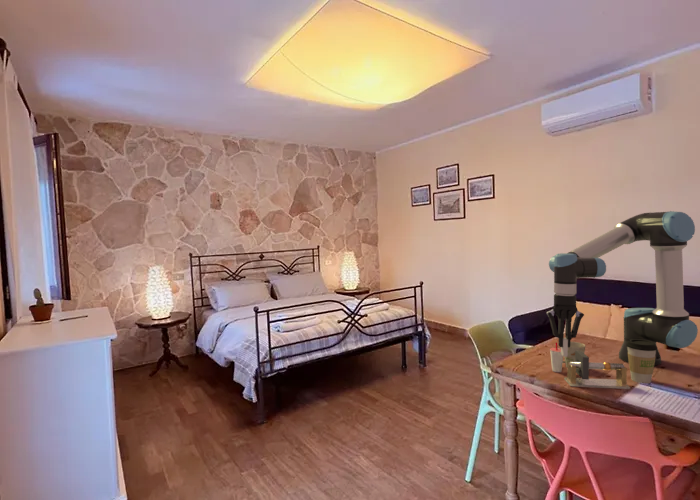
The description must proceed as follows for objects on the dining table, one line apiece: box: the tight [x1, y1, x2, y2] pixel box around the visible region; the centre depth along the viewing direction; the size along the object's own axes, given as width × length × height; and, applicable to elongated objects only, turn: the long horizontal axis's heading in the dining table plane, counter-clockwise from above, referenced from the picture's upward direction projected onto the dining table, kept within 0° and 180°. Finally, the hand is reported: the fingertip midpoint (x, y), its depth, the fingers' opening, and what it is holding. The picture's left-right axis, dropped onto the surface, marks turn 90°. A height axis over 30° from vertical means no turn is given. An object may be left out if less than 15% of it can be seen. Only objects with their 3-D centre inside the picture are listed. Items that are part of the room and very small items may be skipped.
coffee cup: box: [626, 339, 659, 384], centre depth 155 cm, size 10×10×15 cm
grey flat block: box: [575, 351, 590, 380], centre depth 153 cm, size 2×8×8 cm, turn 169°
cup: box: [549, 342, 564, 373], centre depth 167 cm, size 5×5×12 cm
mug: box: [558, 341, 586, 368], centre depth 171 cm, size 8×13×10 cm, turn 78°
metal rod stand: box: [563, 361, 631, 390], centre depth 152 cm, size 20×7×8 cm, turn 79°
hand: (564, 355), depth 154 cm, fingers closed
